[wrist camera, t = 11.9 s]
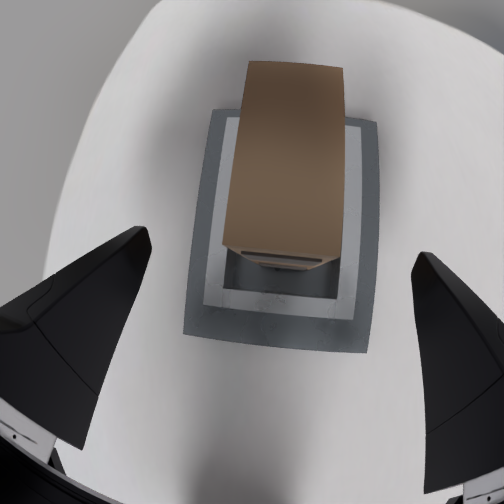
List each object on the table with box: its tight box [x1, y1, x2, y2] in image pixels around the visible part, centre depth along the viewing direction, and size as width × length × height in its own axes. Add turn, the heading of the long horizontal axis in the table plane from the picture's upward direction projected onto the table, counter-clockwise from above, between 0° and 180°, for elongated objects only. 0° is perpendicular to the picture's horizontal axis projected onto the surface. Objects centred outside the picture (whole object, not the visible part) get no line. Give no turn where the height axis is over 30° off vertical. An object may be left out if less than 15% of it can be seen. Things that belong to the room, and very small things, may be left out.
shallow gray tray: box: [183, 110, 379, 353], centre depth 17 cm, size 16×12×4 cm
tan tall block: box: [222, 61, 345, 271], centre depth 13 cm, size 6×3×11 cm, turn 174°
